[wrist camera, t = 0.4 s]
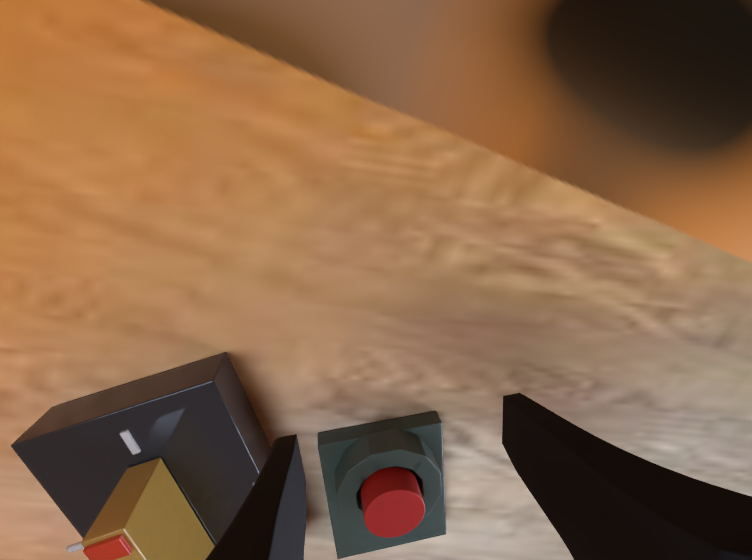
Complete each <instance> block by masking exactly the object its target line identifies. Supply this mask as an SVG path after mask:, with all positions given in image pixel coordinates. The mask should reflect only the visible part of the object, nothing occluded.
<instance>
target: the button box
mask: <svg viewBox="0 0 752 560" xmlns="http://www.w3.org/2000/svg"><path fill="white" fill-rule="evenodd" d="M318 449H319V455H320V461H321V467H322V472H323V478H324V484H325V489H326V495H327V501H328V507H329V512H330V518H331V524H332V529H333V535H334V541H335V547H336V552H337V558H338V559H340V558H344V557H349V556H353V555H358V554H362V553H366V552H371V551H375V550H379V549H384V548H388V547H392V546H397V545H401V544H405V543H410V542H414V541H418V540H423V539H427V538H431V537H436V536H440V535H444V534H446V519H445V494H444V470H443V445H442V422H441V420H440V418H439V416H438V414H437V412H436V411H434V412H428V413H423V414H417V415H412V416H407V417H401V418H396V419H391V420H385V421H380V422H374V423H369V424H364V425H358V426H353V427H348V428H342V429H337V430H331V431H326V432H321V433H318ZM393 466H396V467H402V468H405V469H407V470H409V471H410V472H412V473H413V474H414V476H415V477H416V479H417V482H418V485H419V489H420V492H421V495H422V498H423V501H424V504H425V513H424V516H423V519H422V520H421V522H420V523H419V524H418V526H417V527H415V528H414V529H413V530H412V531H410V532H408V533H406V534H404V535H402V536H398V537H393V538H385V537H380V536H377V535H375V534H373V533H371V532H370V531H369V530H368V528H367V527H366V525H365V522H364V516H363V508H362V501H361V488H362V486H363V483H364V482H365V480H366V479H367V478H368V477H369V476H370V475H371V474H373V473H374V472H376V471H377V470H380V469H383V468H388V467H393Z"/></svg>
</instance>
